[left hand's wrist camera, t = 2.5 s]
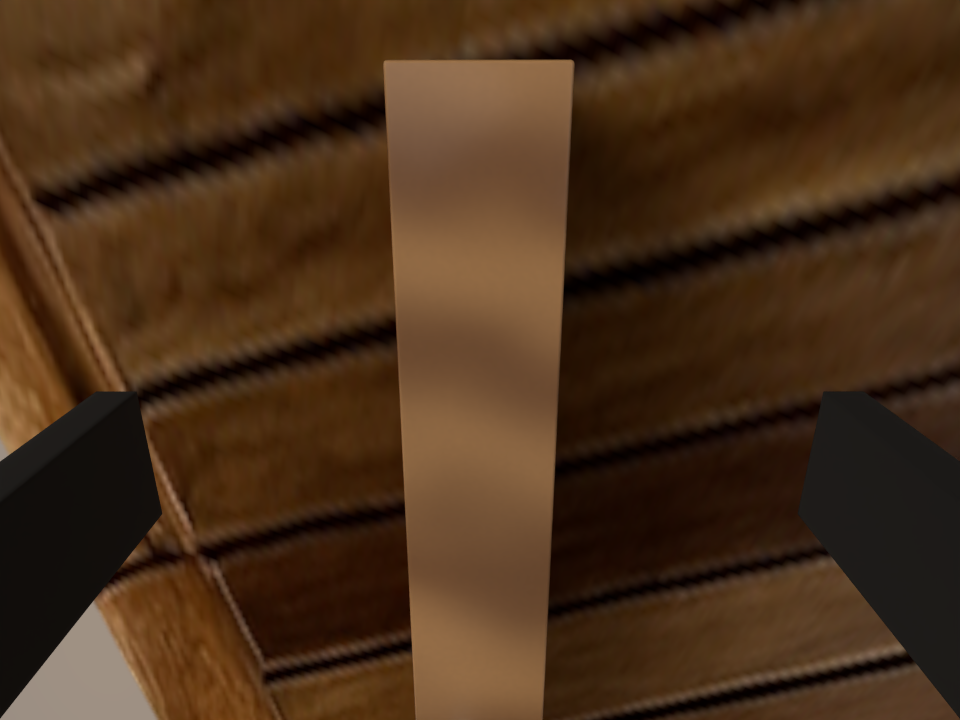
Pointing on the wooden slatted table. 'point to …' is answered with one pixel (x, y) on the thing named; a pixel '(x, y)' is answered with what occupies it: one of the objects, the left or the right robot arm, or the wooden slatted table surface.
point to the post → (479, 367)
